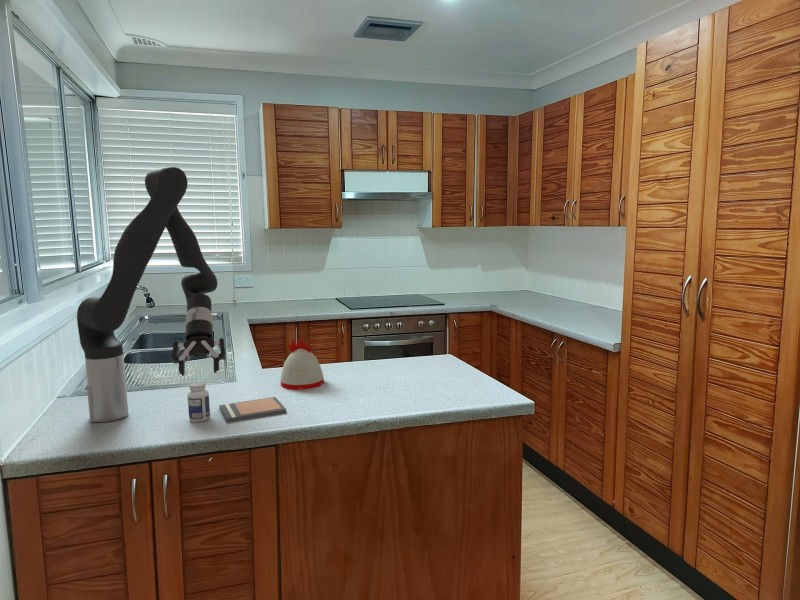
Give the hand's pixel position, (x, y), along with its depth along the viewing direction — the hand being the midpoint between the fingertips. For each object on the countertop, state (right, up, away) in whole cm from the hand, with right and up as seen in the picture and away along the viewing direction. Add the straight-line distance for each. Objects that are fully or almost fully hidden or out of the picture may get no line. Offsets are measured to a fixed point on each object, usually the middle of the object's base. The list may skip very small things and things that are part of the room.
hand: (199, 373), depth 155 cm
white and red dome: (+24, -7, +27) cm, 37 cm away
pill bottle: (+2, -12, -5) cm, 13 cm away
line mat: (+15, -11, +1) cm, 18 cm away
